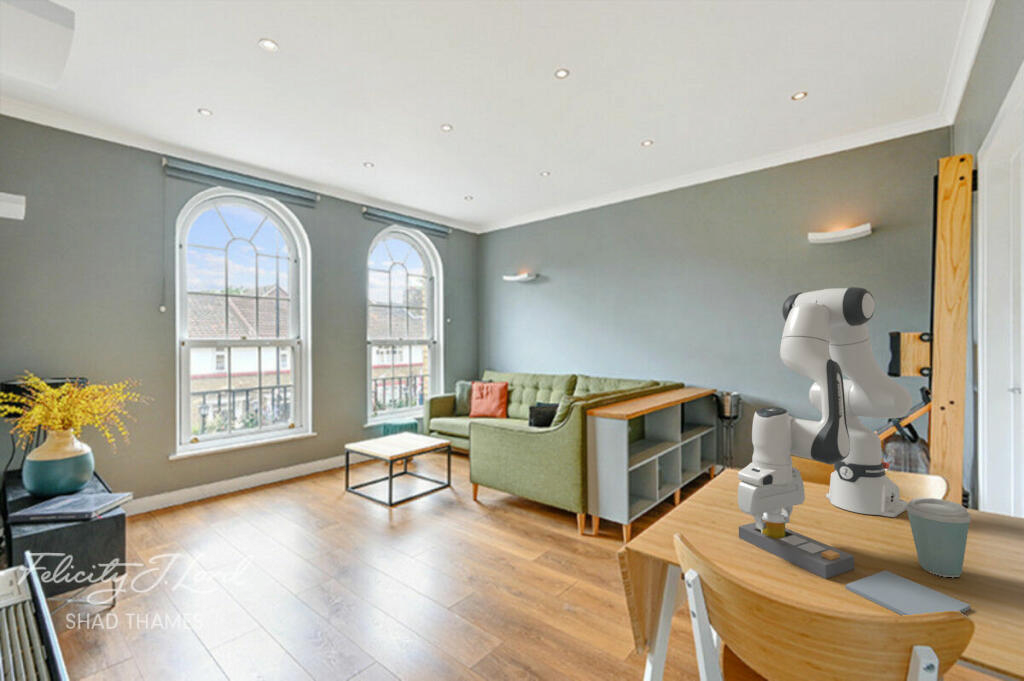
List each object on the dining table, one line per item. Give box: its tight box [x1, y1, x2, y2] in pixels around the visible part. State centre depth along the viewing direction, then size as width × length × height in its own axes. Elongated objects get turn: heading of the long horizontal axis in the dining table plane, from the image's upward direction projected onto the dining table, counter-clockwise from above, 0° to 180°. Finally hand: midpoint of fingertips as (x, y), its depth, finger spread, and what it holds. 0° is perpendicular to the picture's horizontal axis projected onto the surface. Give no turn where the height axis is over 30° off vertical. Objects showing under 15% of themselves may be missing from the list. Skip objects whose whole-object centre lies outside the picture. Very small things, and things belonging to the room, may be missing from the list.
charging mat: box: [845, 569, 971, 616], centre depth 88 cm, size 14×14×1 cm
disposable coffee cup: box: [905, 497, 972, 579], centre depth 98 cm, size 11×11×15 cm
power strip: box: [738, 521, 855, 580], centre depth 108 cm, size 10×22×4 cm, turn 23°
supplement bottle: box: [761, 508, 786, 539], centre depth 113 cm, size 5×5×10 cm
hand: (772, 525), depth 113 cm, fingers open, 7 cm apart
